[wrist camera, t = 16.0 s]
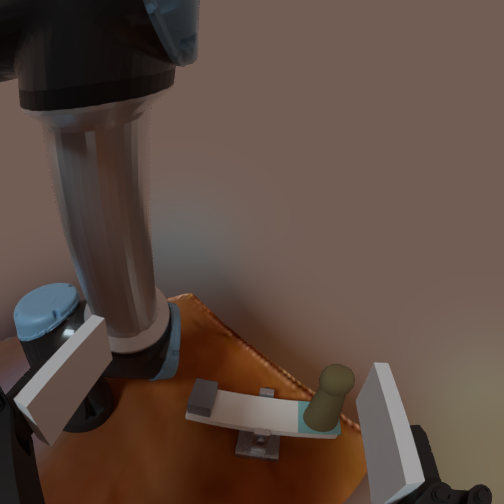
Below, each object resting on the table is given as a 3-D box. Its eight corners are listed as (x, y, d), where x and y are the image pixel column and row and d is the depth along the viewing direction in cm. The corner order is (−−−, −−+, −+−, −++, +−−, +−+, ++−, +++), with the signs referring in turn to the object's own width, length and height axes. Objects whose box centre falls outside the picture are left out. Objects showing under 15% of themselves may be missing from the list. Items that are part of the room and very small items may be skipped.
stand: (234, 456, 39) (237, 435, 37) (244, 405, 51) (247, 382, 48) (277, 461, 39) (285, 442, 37) (281, 410, 50) (287, 387, 48)
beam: (185, 418, 41) (184, 405, 39) (196, 389, 47) (196, 375, 46) (338, 438, 39) (345, 426, 38) (335, 408, 46) (341, 395, 44)
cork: (295, 416, 42) (311, 369, 38) (319, 399, 46) (337, 353, 42) (322, 438, 38) (344, 392, 34) (345, 419, 42) (368, 373, 38)
